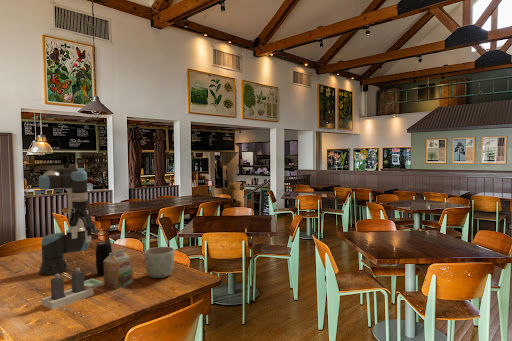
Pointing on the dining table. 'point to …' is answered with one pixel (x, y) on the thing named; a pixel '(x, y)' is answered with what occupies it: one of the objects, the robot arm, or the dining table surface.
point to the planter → (159, 261)
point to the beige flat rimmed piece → (67, 298)
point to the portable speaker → (102, 255)
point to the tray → (93, 283)
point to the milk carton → (118, 269)
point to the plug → (77, 281)
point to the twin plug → (57, 287)
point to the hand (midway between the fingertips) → (81, 240)
